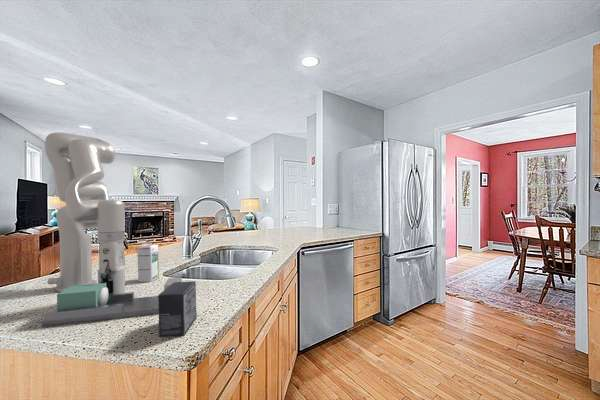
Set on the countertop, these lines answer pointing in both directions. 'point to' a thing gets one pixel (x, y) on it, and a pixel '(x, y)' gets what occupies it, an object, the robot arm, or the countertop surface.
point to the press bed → (128, 311)
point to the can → (116, 280)
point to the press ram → (82, 296)
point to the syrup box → (148, 263)
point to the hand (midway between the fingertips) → (111, 289)
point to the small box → (177, 309)
